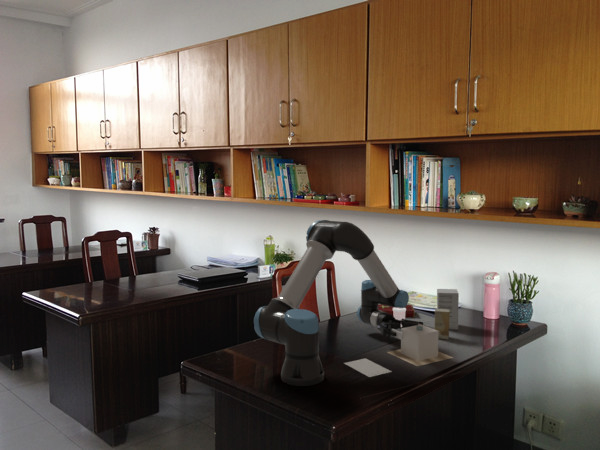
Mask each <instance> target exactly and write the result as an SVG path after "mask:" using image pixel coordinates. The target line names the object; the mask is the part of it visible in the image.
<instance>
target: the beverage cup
mask: <svg viewBox="0 0 600 450" xmlns="http://www.w3.org/2000/svg"><path fill="white" fill-rule="evenodd" d="M405 311H406V308H395V307H394V308H393V315H394V318H395V319H398V320H402V319H406V317H405ZM401 327H402V325H401Z"/></svg>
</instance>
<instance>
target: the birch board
mask: <svg viewBox="0 0 600 450" xmlns="http://www.w3.org/2000/svg"><path fill="white" fill-rule="evenodd" d="M386 353H387V354H390V355H391V356H393V357H396V358H398V359H401V360H403V361H405V362H407V363H409V364H411V365H413V366H415V367H421V366H424V365H429V364H433V363H436V362H441V361H445V360H446V361H447V360H449V359H454V357H453V356H450V355H448V354H445V353H443V352H441V351H439V350H438V356H437V357H433V358H428V359H424V360H420V361H417V360H415V359H413V358H410V357H408V356H406V355H404V354H401V348H400V349H396V350H391V351H386Z"/></svg>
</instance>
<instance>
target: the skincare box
mask: <svg viewBox="0 0 600 450" xmlns="http://www.w3.org/2000/svg"><path fill="white" fill-rule="evenodd" d="M449 317H450V310H448V309H437V308H434V323H433V324H434V327H433V329H434V330H437V331H438V340H439V339H440V340H449V339H450V329H449Z"/></svg>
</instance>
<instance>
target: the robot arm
mask: <svg viewBox="0 0 600 450" xmlns="http://www.w3.org/2000/svg"><path fill="white" fill-rule="evenodd" d="M305 237H306V238H305V240H306V244H305V245H306V250H305V251H304V253H303V255H302V257H301V259H300V260H299V262H298V263H297V265H296V267H295V268H294V270H293V271H292V274H290V276H289V278H288V280H287V281H286V283H285V284H284V286H283V287H282V289H281V291H280V293H279V294H278V296H277V297H275V298H271V300H270V301H269V303H268V305H264V306H260V307H259V308H258V309H257V311H256V312H255V315H254V317H253V324H254V325H253V326H254V331H255V334H257V336H258V337H260V338H262V339H264V340H266V341H268V342H269V341H271V342H274V343H277V344H279V345H284V346H285V356H284V357H285V359H284V360H283V364H282V367H281V370H280V371H281V372H280V380H281V381H282V383H285V384H286V383H287V384H286V385H290V386H295V387H308V386H309V387H310V386H315V385H318V384H320V383H322V382H323V381H324V379H325V371H324V370H325V369H324V367H323V364H322V361H321V359H320V352H319V351H320V324H319V318H318V316H317V314H316V313H314V312H313V311H311V310H308V309H304V308H303V309H302V308H300V306H301V304H302V302H303V301H304V298H305V296H306V295H307V293H308V292H309V290H310V289H311V286H313V283H314V282H315V280H316V278H317V276H318V275H319V273H320V271H321V270H322V268H323V267H324V264H325V262H326V261H327V260H331V259H332V258H333V257H334V255H335V253H336V252H343V253H347V254H348V255H350V256H351V258H352V259H353V260H355V261H357V262H358V263H359V264H360V266H361V268H362V269H363V271H365V273H366V275H367V276H368V278H369V279H364V280H362V282H361V290H360V292H361V293H360V294H361V296H360V299H361V300H360V301H361V305H360V306H359V307H358V308H357V311H356V316H357V320H359V321H361V322H362V323H363V324H367V325H369V326H372V327H374V328H377V330H379V331H380V333H381V335H382V336H384V337H386V336H387V338H391V337H394V338H395V339H398V340H400V341H401V340H403V333H402V332H401V328H406V327H411V326H416V325H423V326H426V325H424V322H423V321H416V320H410V319H406V318H405V319H402V320H398V319H395V318H394V316H393V315H391V314H389V313H386V312H384V311H381V310H378V306H379V304H381V305H386V306H391V307H395V308H405V307H406V306H407V305H409V301H410V296H409V292H408V291H406V290H404V289H399V286H398V285H397V284H396V283H395V281H394V279H393V278H392V276H391V274H390V273H389V271H388V270H387V268H386V267H385V265H384V264H383V262H382V261H381V259H380V258H379V255H378V254H377V252H376V251H375V250H374V249H375V245H374V243H373V242H372V240H371V239H370V238H369V236H368V235H367V234H366V233H365V232H364V231H363V230H362V229H361V228H360V227H358V226H357V225H355V224H353V223H352V222H349V221H338V220H337V221H336V220H329V219H322V220H321V219H320V220H316V221H313V222H312V223H311V224H310V225H309V226H308V228H307V231H306V236H305ZM401 325H402V327H401ZM426 327H429V326H426ZM429 328H431V327H429ZM399 330H400V331H399Z"/></svg>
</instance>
